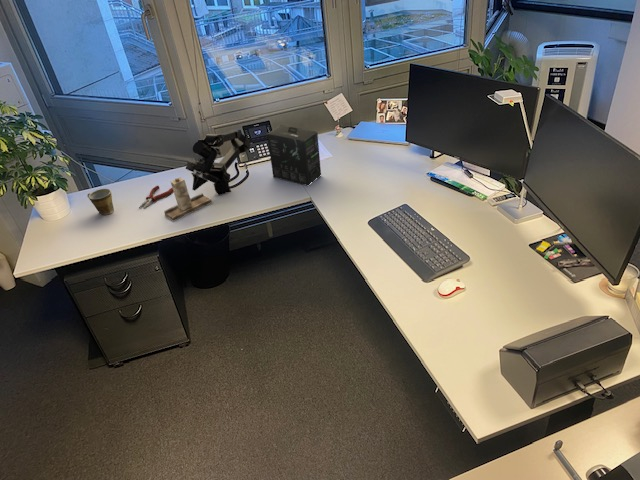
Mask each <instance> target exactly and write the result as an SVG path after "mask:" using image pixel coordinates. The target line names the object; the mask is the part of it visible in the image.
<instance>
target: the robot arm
mask: <svg viewBox="0 0 640 480" xmlns="http://www.w3.org/2000/svg"><path fill="white" fill-rule="evenodd" d="M225 142H230V143H231V148H230V149H229V151H228V152H227V153H226V154H225V155H224V156H223V158H222V159H221V160H220V161H219V162H215V161H216V158H217V157H218V155H219V156H221V155H222V154H221V151H220V147H222V146H223V145H224V143H225ZM250 147H251V141H250V139H249V138H248V137H247V136H246V135H244V134H243V133H242V132H241V131H240V130H237V129H230V130H227V131H224V132H221V133H207V134H205V136H204V137H203V139H201V138H200V139H199V138H198V140H197V141H196V142H195V143H194V144H193V146H192V151H193V153H194V154H196V155H197V156H200V157H201V158H200V157H199V158H198V160H192V159H191V160H190V159H189V160H187V162H186V167H185V169H186V170H187V171H190V172H191V175H192V178H193V181H192V182H193V183H192V191H196V190H198V189H199V188H200V187H202V186H203V185H204V184H206V183H208V182H210V183H212V184H213V188H214V191H215V193H216V194H217V195H218V196H220V195H225V194H228V193H231V192H232V190H231V188H230V184H229V182H230V180H231V173H228V170H229V168H230V167H231V165H232V164H233V163H234V162H235V161H236V160H237V159H238V157H239V156H240V155H241V154H243V153H246V152H247V151H248V150H249V149H250Z"/></svg>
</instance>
